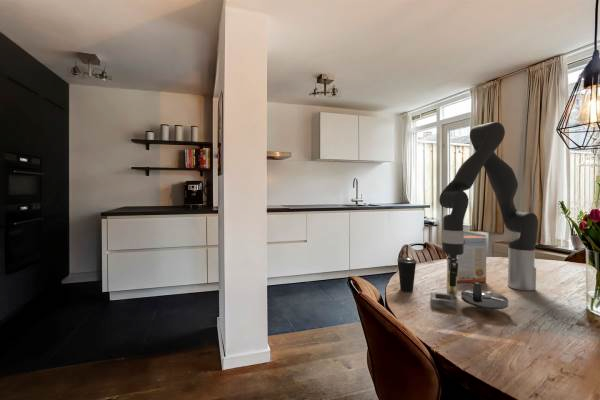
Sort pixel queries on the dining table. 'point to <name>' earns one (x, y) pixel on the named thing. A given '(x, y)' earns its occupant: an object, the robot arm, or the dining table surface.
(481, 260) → the cracker box
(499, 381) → the dining table surface
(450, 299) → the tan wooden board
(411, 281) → the dark tapered cylinder
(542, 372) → the dining table surface
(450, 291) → the gold metallic cylinder
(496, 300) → the handwheel
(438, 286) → the dining table surface
